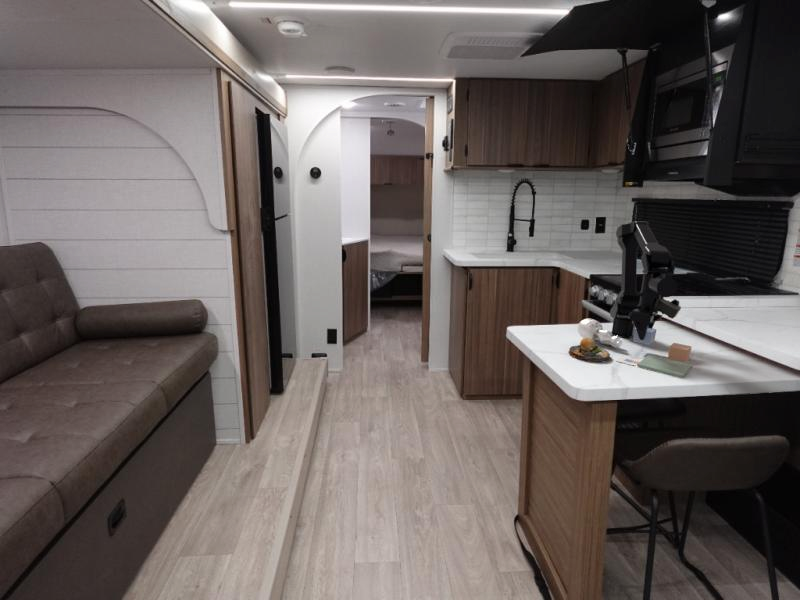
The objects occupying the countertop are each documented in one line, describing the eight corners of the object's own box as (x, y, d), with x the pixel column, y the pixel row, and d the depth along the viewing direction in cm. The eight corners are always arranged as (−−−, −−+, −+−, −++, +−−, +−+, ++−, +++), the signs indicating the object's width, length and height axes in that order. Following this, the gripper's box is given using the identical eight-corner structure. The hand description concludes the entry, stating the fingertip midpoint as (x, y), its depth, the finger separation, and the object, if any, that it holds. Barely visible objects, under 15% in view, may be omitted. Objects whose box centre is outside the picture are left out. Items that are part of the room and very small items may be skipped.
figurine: (619, 327, 157) (583, 307, 169) (603, 344, 156) (568, 323, 168) (628, 345, 163) (593, 325, 175) (612, 361, 163) (578, 339, 175)
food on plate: (617, 362, 149) (620, 338, 147) (582, 364, 147) (585, 340, 145) (593, 349, 161) (596, 327, 159) (561, 351, 158) (563, 328, 156)
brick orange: (667, 358, 154) (669, 346, 153) (671, 354, 157) (673, 342, 157) (685, 362, 151) (688, 350, 150) (689, 358, 154) (691, 346, 153)
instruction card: (616, 361, 149) (616, 360, 149) (622, 356, 154) (622, 356, 154) (644, 368, 144) (644, 367, 144) (650, 363, 148) (650, 362, 148)
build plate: (637, 366, 145) (637, 364, 145) (649, 356, 154) (649, 354, 154) (682, 378, 138) (682, 375, 137) (692, 367, 146) (692, 364, 146)
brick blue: (632, 341, 157) (634, 329, 156) (637, 337, 161) (639, 326, 160) (649, 344, 154) (651, 332, 153) (654, 341, 157) (656, 329, 156)
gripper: (672, 299, 141) (663, 350, 145) (687, 290, 155) (679, 337, 159) (631, 292, 148) (624, 342, 152) (649, 284, 162) (642, 330, 166)
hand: (644, 338), depth 157 cm, fingers closed on brick blue, 5 cm apart
